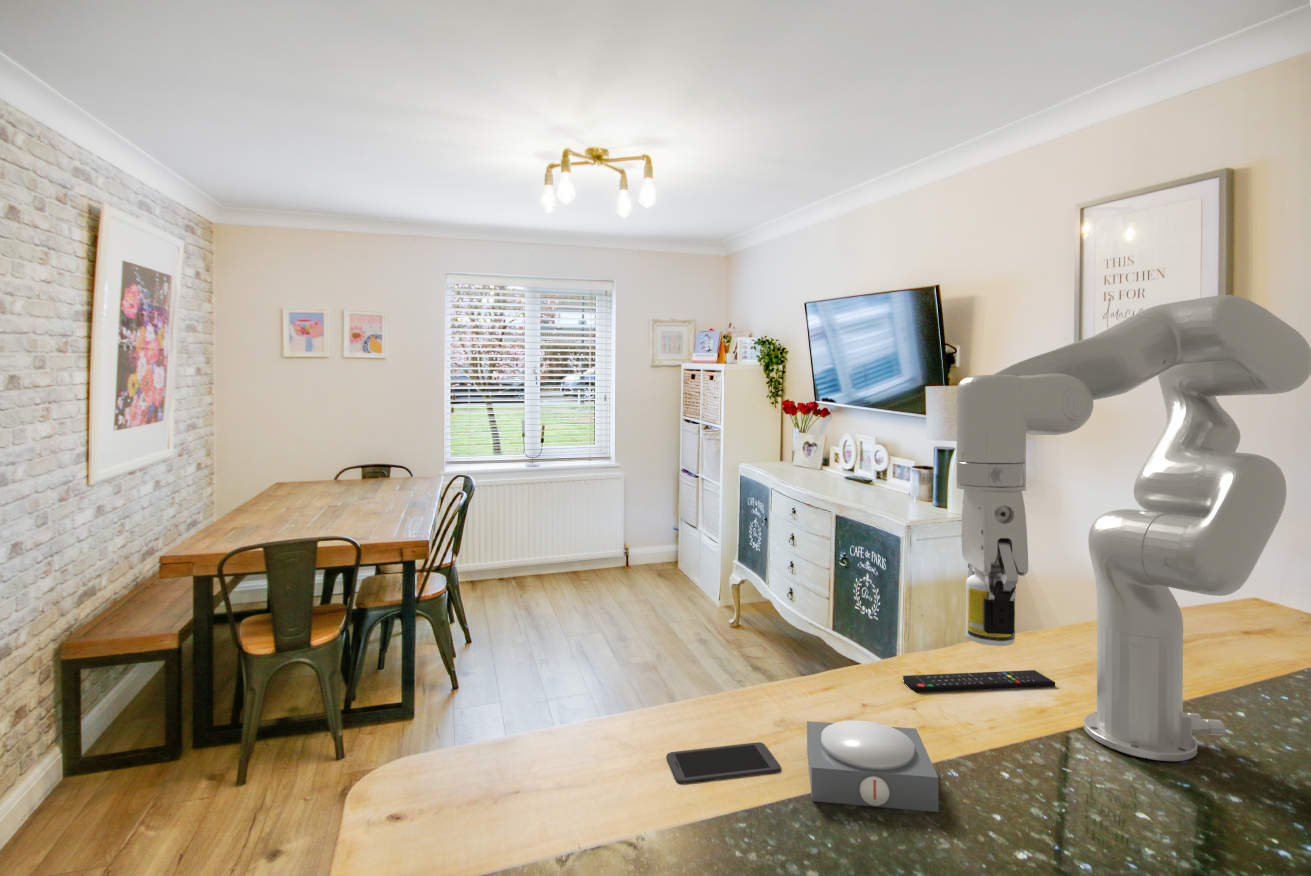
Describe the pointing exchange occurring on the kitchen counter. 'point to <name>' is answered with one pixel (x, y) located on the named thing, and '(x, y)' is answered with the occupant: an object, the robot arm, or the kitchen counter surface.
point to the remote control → (977, 681)
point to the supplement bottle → (981, 612)
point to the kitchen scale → (870, 766)
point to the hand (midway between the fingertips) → (989, 623)
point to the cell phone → (721, 762)
